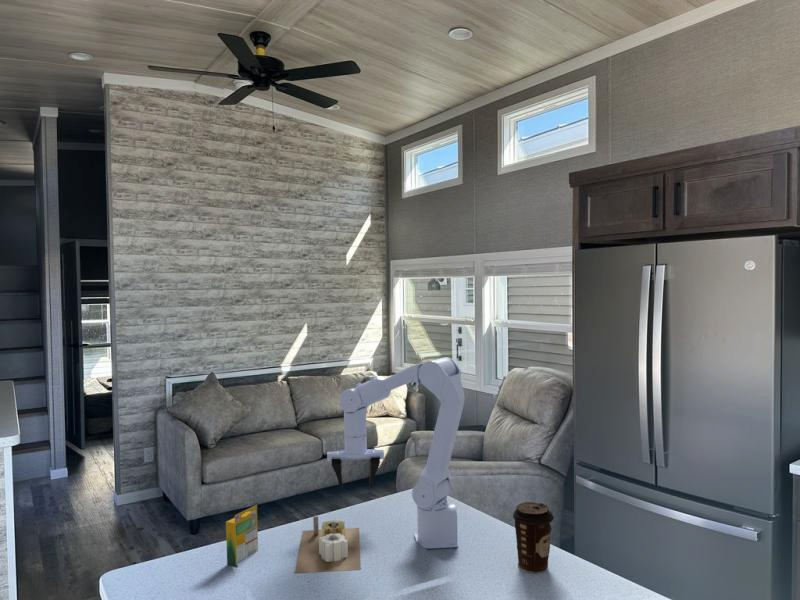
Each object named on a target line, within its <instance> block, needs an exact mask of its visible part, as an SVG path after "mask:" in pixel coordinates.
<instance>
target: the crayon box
mask: <svg viewBox="0 0 800 600" xmlns="http://www.w3.org/2000/svg"><path fill="white" fill-rule="evenodd" d="M258 533H259V532H258V504H256V505H253V506H251V507H249V508H247V509H245V510H243V511H241V512H239V513H237V514H235V515H234V517H233V518H231V519H229V520H227V521H225V534H226V536H225V537H226V540H225V541H226V565H227V566H229V567H233V568H238V563H239V562H241V561H242V560H244V559H246V558H248V557H250V556H251V555H253V554H254V553H256V552H258V551H259V534H258Z"/></svg>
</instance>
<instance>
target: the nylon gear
mask: <svg viewBox="0 0 800 600" xmlns="http://www.w3.org/2000/svg"><path fill="white" fill-rule="evenodd" d="M331 535H336V540H334V541H331V540H330V536H331ZM319 554H321V557H322V559H323V560H325V561H326V562H330V561H331V562H332V561H338V560H341V559H343V558H347V556H348V540H345V537H344V536H343V535H341V534H340V533H337V534H336V533H334V534H327V535H326V536H323V537H320V538H319Z"/></svg>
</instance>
